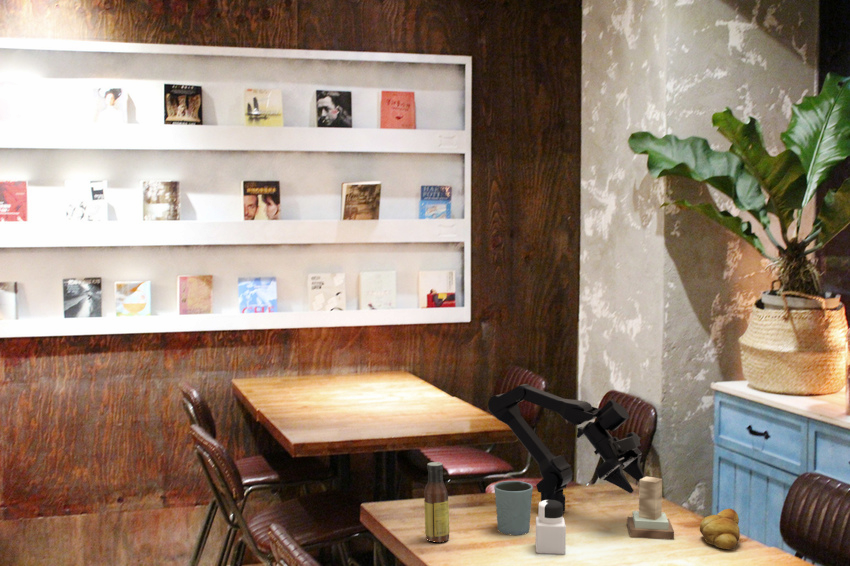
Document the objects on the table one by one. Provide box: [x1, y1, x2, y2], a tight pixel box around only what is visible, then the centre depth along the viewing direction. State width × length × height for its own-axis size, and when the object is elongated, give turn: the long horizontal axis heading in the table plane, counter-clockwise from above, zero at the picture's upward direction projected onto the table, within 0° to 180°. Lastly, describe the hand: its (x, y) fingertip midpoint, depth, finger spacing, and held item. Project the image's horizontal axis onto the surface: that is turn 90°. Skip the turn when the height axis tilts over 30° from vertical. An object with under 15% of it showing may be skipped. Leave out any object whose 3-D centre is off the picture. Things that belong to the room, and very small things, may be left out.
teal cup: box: [493, 480, 534, 536], centre depth 233 cm, size 10×10×12 cm
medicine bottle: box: [535, 500, 567, 555], centre depth 218 cm, size 7×7×12 cm
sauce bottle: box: [423, 461, 450, 543], centre depth 225 cm, size 7×6×20 cm
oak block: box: [638, 476, 663, 520], centre depth 232 cm, size 4×4×10 cm
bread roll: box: [699, 508, 741, 550], centre depth 223 cm, size 13×10×8 cm
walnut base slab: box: [626, 516, 675, 540], centre depth 232 cm, size 11×11×2 cm
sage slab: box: [632, 510, 669, 530], centre depth 232 cm, size 8×8×2 cm
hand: (639, 488), depth 234 cm, fingers open, 9 cm apart
